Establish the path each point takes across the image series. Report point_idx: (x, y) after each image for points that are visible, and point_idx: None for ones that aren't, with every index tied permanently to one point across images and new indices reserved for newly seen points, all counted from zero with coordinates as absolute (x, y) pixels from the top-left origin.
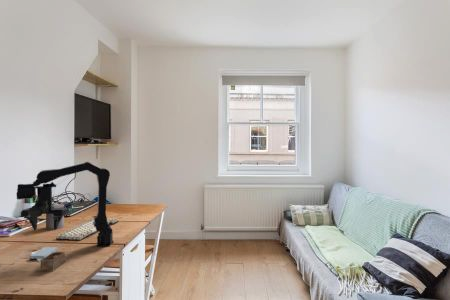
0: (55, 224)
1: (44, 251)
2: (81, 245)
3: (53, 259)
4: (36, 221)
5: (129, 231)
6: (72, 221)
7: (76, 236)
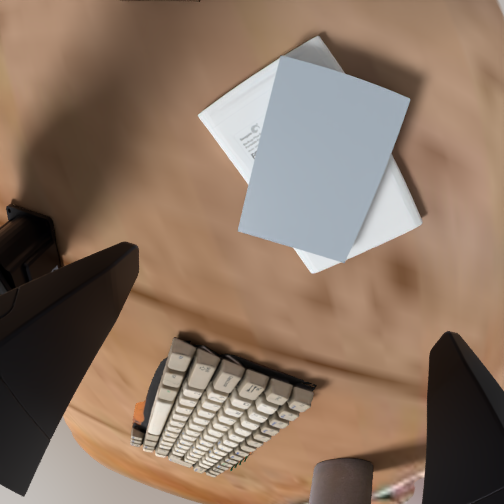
0: (43, 284)
1: (316, 161)
2: None
3: None
4: (439, 473)
5: None
6: (295, 483)
7: (196, 366)
